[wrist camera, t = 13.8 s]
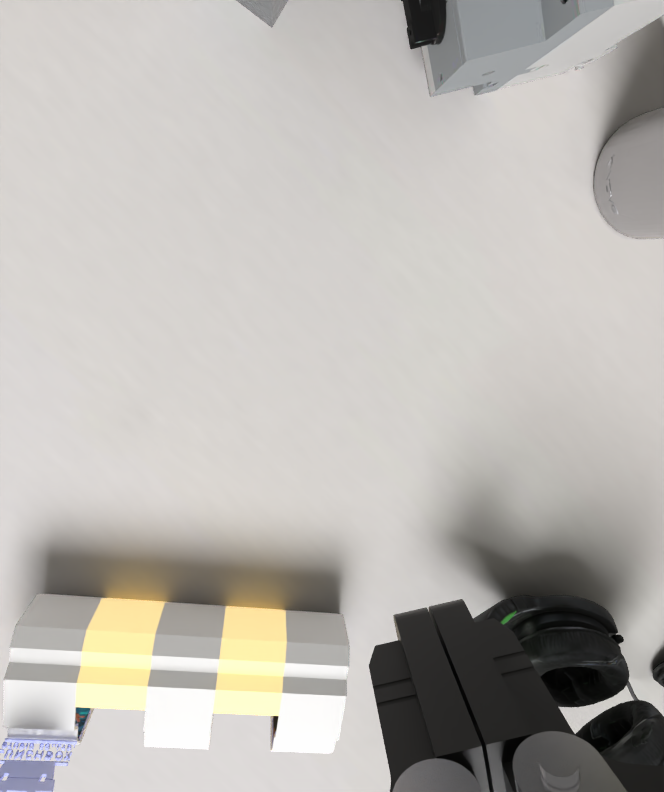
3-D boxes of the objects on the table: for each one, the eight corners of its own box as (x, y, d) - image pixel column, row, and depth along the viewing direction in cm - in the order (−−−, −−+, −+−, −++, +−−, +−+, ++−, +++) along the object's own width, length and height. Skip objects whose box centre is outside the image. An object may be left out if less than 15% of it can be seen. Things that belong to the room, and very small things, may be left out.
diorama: (41, 686, 50) (-36, 831, 38) (45, 580, 48) (-36, 698, 35) (324, 699, 54) (340, 837, 41) (340, 601, 51) (363, 715, 39)
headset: (580, 610, 64) (392, 639, 47) (688, 549, 57) (513, 556, 39) (687, 797, 54) (498, 925, 36) (837, 752, 46) (690, 886, 29)
